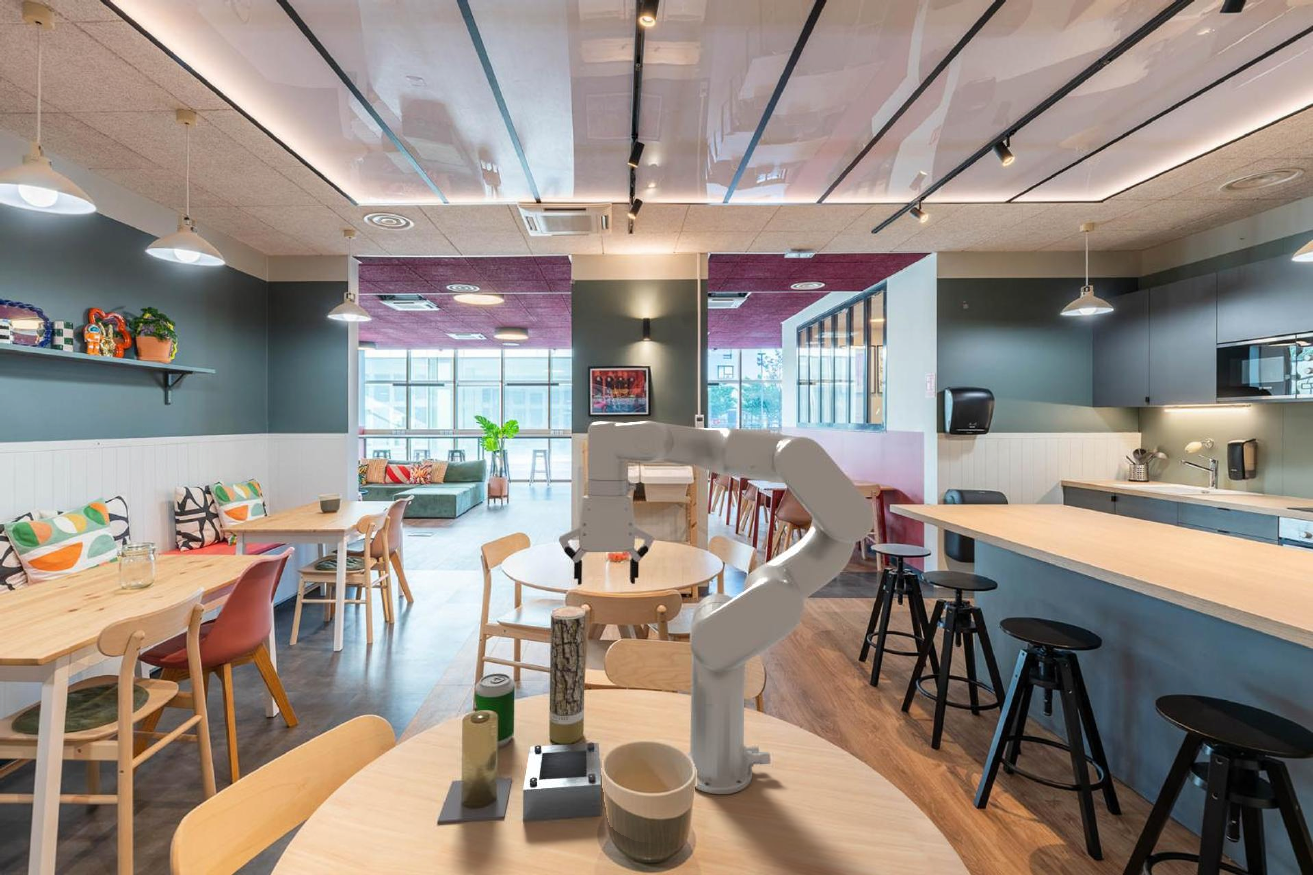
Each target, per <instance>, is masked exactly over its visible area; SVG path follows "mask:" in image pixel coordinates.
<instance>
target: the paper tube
mask: <svg viewBox="0 0 1313 875" xmlns="http://www.w3.org/2000/svg"><path fill="white" fill-rule="evenodd" d="M550 613H551V614H550V649H549V650H550V651H549V653H550V655H549V657H550V659H549V661H550V662H549V664H550V665H549V670H550V671H549V717H548V718H549V720H548V721H549V727H548V728H549V733H548V734H549V738H550V739H551V741H553V743H557V744H558V745H569V744H575V743H576V742H577V741H579V740H580V739H582V737H583V735H584V732H585V731H584V724H585V723H584V722H585V718H584V717H585V677H586V676H585V675H586V674H585V668H586V665H585V664H586V662H585V661H586V657H585V656H586V609H585V608H583V607H579V606H567V605H566V606H560V607H555V608H554V609H552V610H551V611H550Z"/></svg>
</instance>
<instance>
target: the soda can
mask: <svg viewBox="0 0 1313 875" xmlns="http://www.w3.org/2000/svg"><path fill="white" fill-rule="evenodd" d="M515 686H516V685H515V680H514V679H513V678H512V677H511V676H510V675H508V674H505V673H500V672H499V673H491V674H488V675H485V676H483V677H481V678H480V679H479V681H478V682H477V683H476V684H475V688H474V712H475V711H481V710H489V711H493V712H495V713H497V715H498V749H499V748H502V747H504V746H506V745H507V744H508V743H509V742H510V740H511V739H512V738H513V736H514V735H515V693H516V692H515V688H516V687H515Z"/></svg>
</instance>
